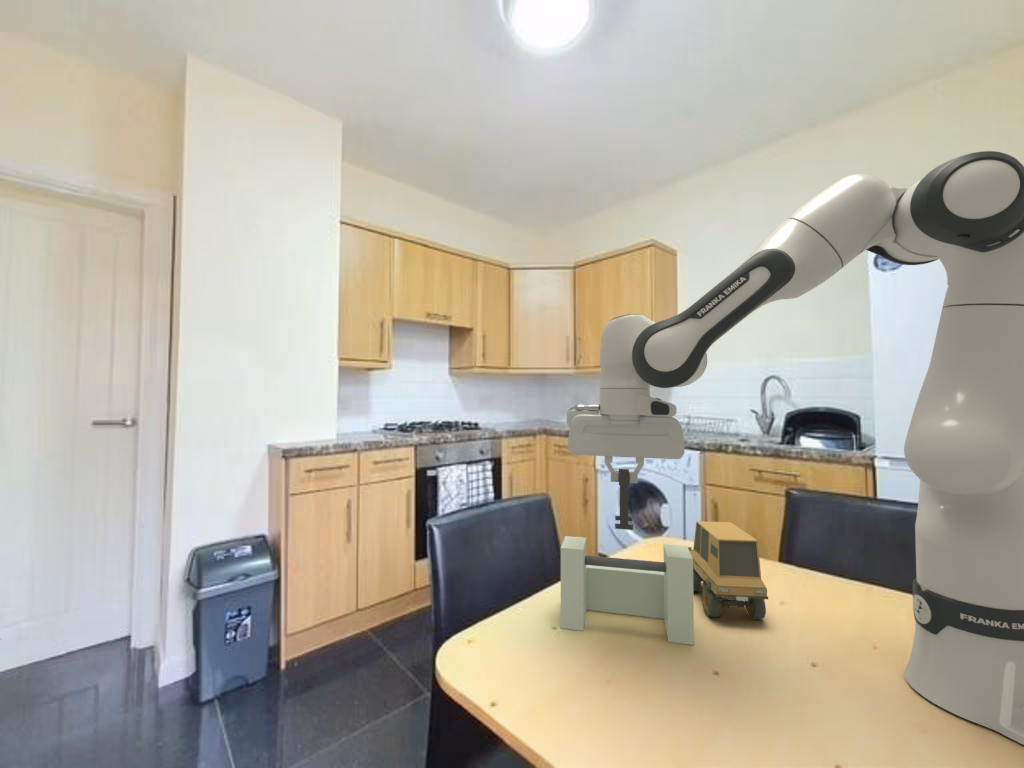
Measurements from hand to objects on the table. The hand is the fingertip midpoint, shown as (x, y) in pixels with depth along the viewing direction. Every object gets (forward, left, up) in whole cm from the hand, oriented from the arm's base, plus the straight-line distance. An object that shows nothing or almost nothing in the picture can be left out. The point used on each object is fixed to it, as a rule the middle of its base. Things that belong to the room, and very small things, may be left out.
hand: (624, 482), depth 79 cm
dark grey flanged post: (0, 0, -8) cm, 8 cm away
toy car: (-19, -14, -26) cm, 35 cm away
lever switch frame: (0, -2, -25) cm, 26 cm away
